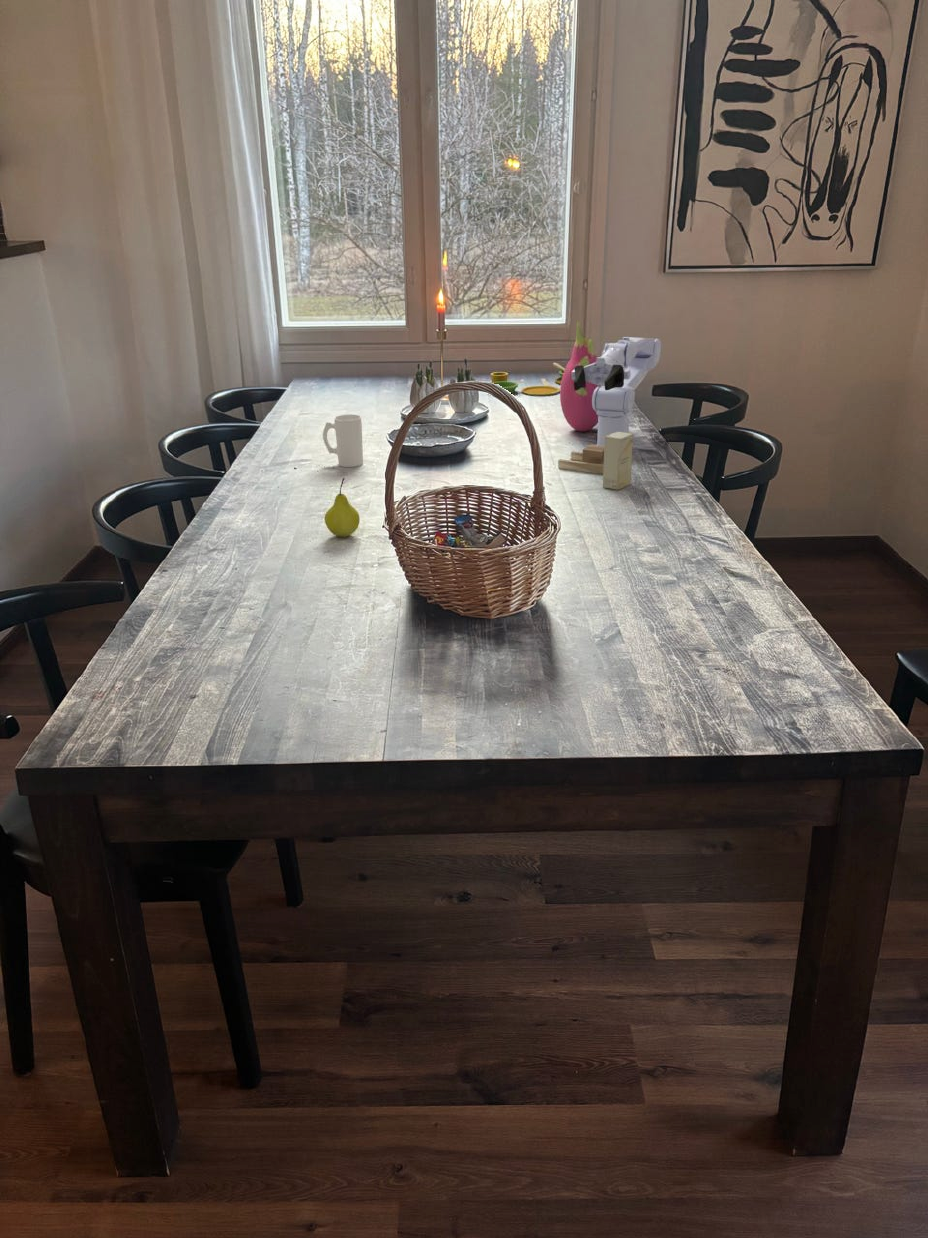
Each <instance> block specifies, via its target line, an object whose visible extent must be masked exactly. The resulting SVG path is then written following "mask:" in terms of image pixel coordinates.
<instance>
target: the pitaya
mask: <svg viewBox="0 0 928 1238" xmlns="http://www.w3.org/2000/svg"><path fill="white" fill-rule="evenodd" d="M575 336H576V337H575V343H574V345H573V350H572V352H571V357H570V360H569V361H568V362H567V364H566V366H565V371H564V373H563V377H562V376H561V377H562V381H561V385H560V388H559V389H560V391H559V397H560V398H559V400H560V401H559V402H560V405H561V410H562V414H563V417H564V419H565V421H566V422H567V423H568V425H569V426H570V427H571V428H572V429H573V430H575V431H578V432H588V431H590V430H592V429H594V427H595V426H597V425H598V415H597V414H596V411H595V410H594V409H593V407H592V397H593V393H594V390H595V389H596V388H597V387H601V386H599V385H596V384H593V383H590V382H587V381H586V388H580V389H579V390H574V381H575V380H572V374H571V372H572V371H573V370H574V368H575V367H576V366H581V365H583V366H584V367H585V366H588V365H590V364H593V363H595V362H596V359H597V358H598V357H597V355H596V352H595V349H594V340H593V339H589V340H587V338H585V336H583V334H582V331H581V322H580V321H578V322H577V323H576V335H575Z"/></svg>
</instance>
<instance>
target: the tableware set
mask: <svg viewBox="0 0 928 1238" xmlns="http://www.w3.org/2000/svg"><path fill="white" fill-rule="evenodd" d="M552 365H553V366H554V367H555V368H557V369H558V370H559V371H558V374H559V375H560V376H559V377H556V378H555V379H554V382H555V383H557V384H558V385H560V386H561V381H562V377H563V373H564V371H565V368H566V367H565V368H564V367H563V366H562V365H560V364H559V363H557V362H553V363H552ZM508 378H509V373H508V372H505V371H496V372H494V371H493V372H492V373H490V379H491V380H490V381H492V382H491V383H494V384H499V385H500V386H502V388H504V389H506V390H508V391H509V392H511V393H512V394H511V395H513V394H514V393H515V390H516V388H518V387H519V385H518V384H519V383H518V382H516V381H507V380H509V379H508ZM524 381H525V379H522V378H521V380H520V381H519V382H523V383H522V384H523V385H522V386H525V384H526V383H524ZM541 382H542V384H543V385H532V386H526V387H523V388H521V390H520V391H521V392H522V393H523V394H524V395H527V396H533V397H545V396H546V397H547V396H548V397H549V396H554V395H557V394H558V393H560V388H559V387H556V386H551V383H550V382H549V381H547V380H546V378H541ZM513 392H514V393H513Z"/></svg>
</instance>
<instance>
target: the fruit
mask: <svg viewBox="0 0 928 1238" xmlns="http://www.w3.org/2000/svg"><path fill="white" fill-rule="evenodd" d="M344 481H345V477H343V478H342V481H341V485H340V489H339V493H338V494H337V495H336V496H335V498H334V502H333V504H332V506H330V508H329V509H328V510H327V511H326V513H325V514H324V518H323V519H324V523H325V527H326V529H328V530H329V532H330V533H331V534H333V535H335V536H336V537H338V538H347V537H350V536H351V535H353V534H354V533H355V532H356V530H357V529H358V528H359V525H360V520H361V519H360V514H359V512H358V510H357V509H356V508H355V507H353V506H352V505H351V503H350V502H349V500H348V497H347V496H346V495H345V493H344V494H343V493H342V488H343V484H344Z"/></svg>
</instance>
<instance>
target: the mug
mask: <svg viewBox="0 0 928 1238" xmlns="http://www.w3.org/2000/svg"><path fill="white" fill-rule="evenodd" d="M333 420H334V423H332V422H331V421H326V422H325V425H324V428H323V432H322V440H323V442H324V445H325V447H326V449H327V451H328V453H329V454H334V455H337V459H338V460H337V461H338V466H339V467H344V468H356V467H359V466H362V465H363V464H364V455H363V453H364V452H363V451H364V450H363V425H362V416H361V415H359V414H353V413H352V414H351V413H350V414H340V415H336V416H334V417H333ZM330 429H334V431H335V439H336V441H335V442H336V447H333V446H331V445H332V444H330V443H329V442H330V441H329V439H328V432H329V430H330Z"/></svg>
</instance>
